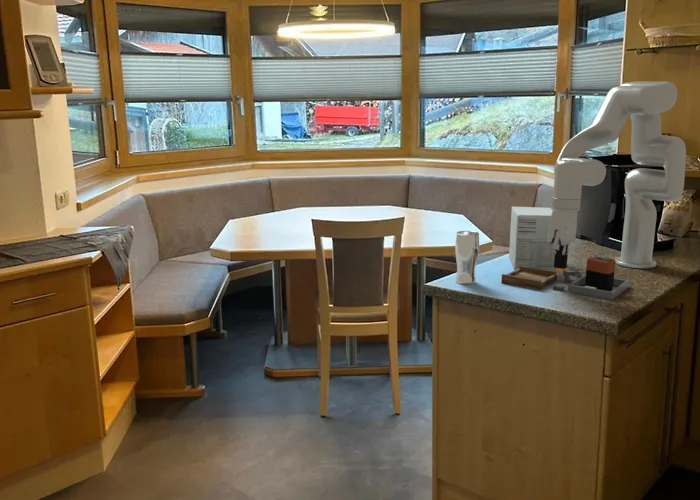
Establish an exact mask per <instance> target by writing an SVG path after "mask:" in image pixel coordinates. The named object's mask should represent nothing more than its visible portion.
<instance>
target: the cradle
mask: <svg viewBox="0 0 700 500" xmlns="http://www.w3.org/2000/svg"><path fill="white" fill-rule="evenodd" d="M585 278H586V273H585V274H584V275H582V277H580V278H579V279H577V280H575V281H574V282H569V284H568V285H567V293H573V294H578V295H583V296H589V297H594V298H599V299H606V300H610V301H612V300H614V299H615V298H616V297H618V296H619V295H620V294H622V293H623V292H624V291H626V290H627V289H628V288H629V287H630V279H624V278H623V279H622V278H615V277H614V283H613V286H616V287H615V288H613V290H611V291H604V290H599V289H596V288H594V287H589V286H585ZM582 285H584V286H582Z"/></svg>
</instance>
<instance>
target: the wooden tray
mask: <svg viewBox="0 0 700 500" xmlns="http://www.w3.org/2000/svg"><path fill="white" fill-rule="evenodd" d="M500 281H501V284H505V285H511V286H516V287H521V288H526V289H531V290H532V289H533V290H537V291H541V290H543V289H545V288H546V287H548V286H550V285H552V284H553V283H555V282H557V281H558V275H556V271H547V270H541V269H536V268H530V267H524V266H519V269H516V270H514V269H513V270H512V271H510V272H509V273H506V274H505V273H502V274H501V280H500Z"/></svg>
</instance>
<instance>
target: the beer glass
mask: <svg viewBox="0 0 700 500" xmlns="http://www.w3.org/2000/svg"><path fill="white" fill-rule="evenodd" d="M454 251H455V260H456V275H455V280H454V281H455V283H457V284H459V285H474V284H476V283H477V279H476V278H477V277H476V266H477V262H478V258H479V253H480V232H477V231H472V230H460V231H456V236H455V249H454Z"/></svg>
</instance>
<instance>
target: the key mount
mask: <svg viewBox="0 0 700 500" xmlns="http://www.w3.org/2000/svg"><path fill="white" fill-rule="evenodd" d="M567 268H568V269H567V271H572V268H569V267H567ZM582 276H583V270H581V269H579V270H578V271H577V276H564V278H562V281H563V282H567V283H572V282H574V281H575V280H577V279H579V278H580V277H582ZM565 289H566V286H562V285H559V284H555V285H553V286H552V290H554V291H559V292H563V291H565Z"/></svg>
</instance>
